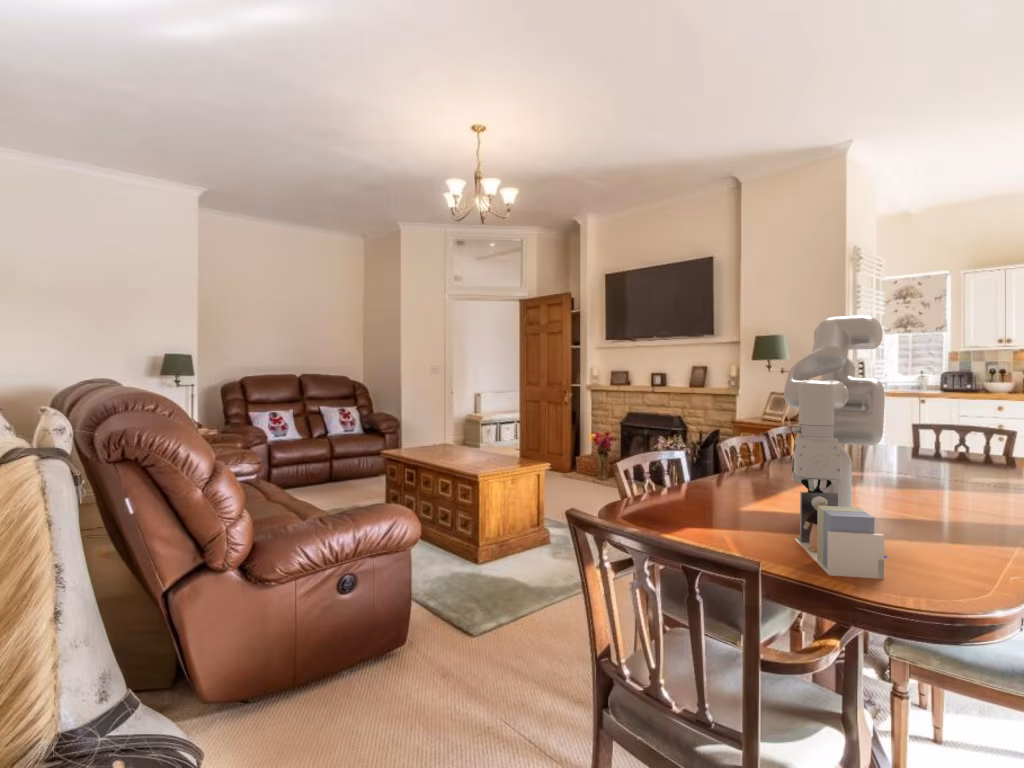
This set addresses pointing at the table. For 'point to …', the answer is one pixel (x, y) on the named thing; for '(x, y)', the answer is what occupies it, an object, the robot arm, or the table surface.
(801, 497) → the bookend
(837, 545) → the book rack
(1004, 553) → the table surface
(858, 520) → the book slate
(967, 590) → the table surface
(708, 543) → the table surface
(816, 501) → the grandmother figurine
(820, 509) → the book sage
